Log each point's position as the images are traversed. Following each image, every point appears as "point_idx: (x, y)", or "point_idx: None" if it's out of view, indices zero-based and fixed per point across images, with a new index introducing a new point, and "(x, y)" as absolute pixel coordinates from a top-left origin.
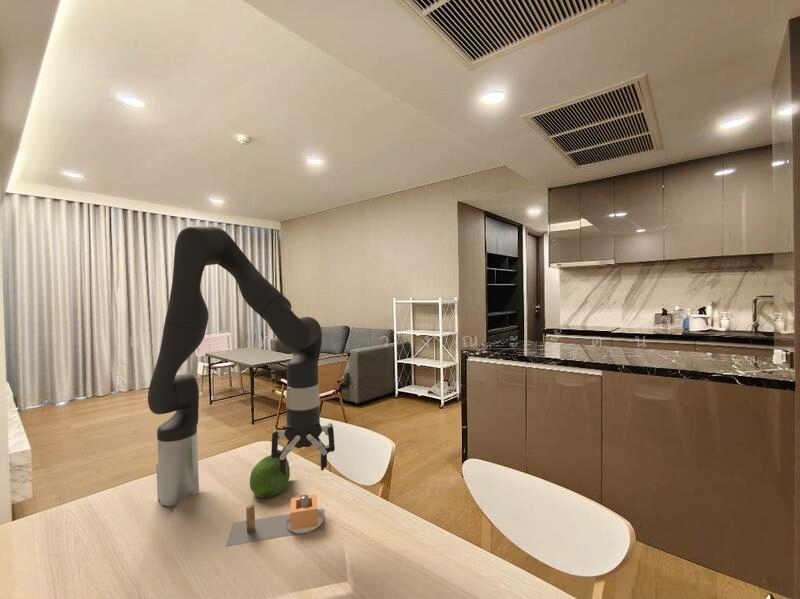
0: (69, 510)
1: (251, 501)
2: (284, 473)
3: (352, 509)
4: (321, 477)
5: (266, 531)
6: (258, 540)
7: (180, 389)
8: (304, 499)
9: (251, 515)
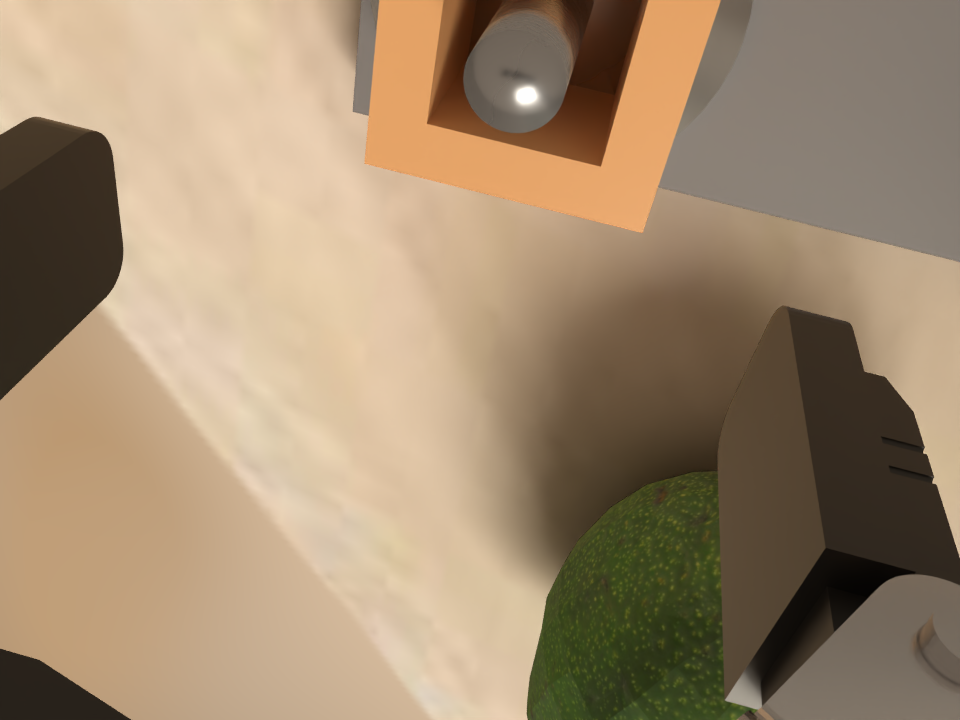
0: None
1: None
2: (826, 322)
3: (124, 41)
4: (331, 519)
5: (954, 20)
6: None
7: None
8: (523, 29)
9: None
